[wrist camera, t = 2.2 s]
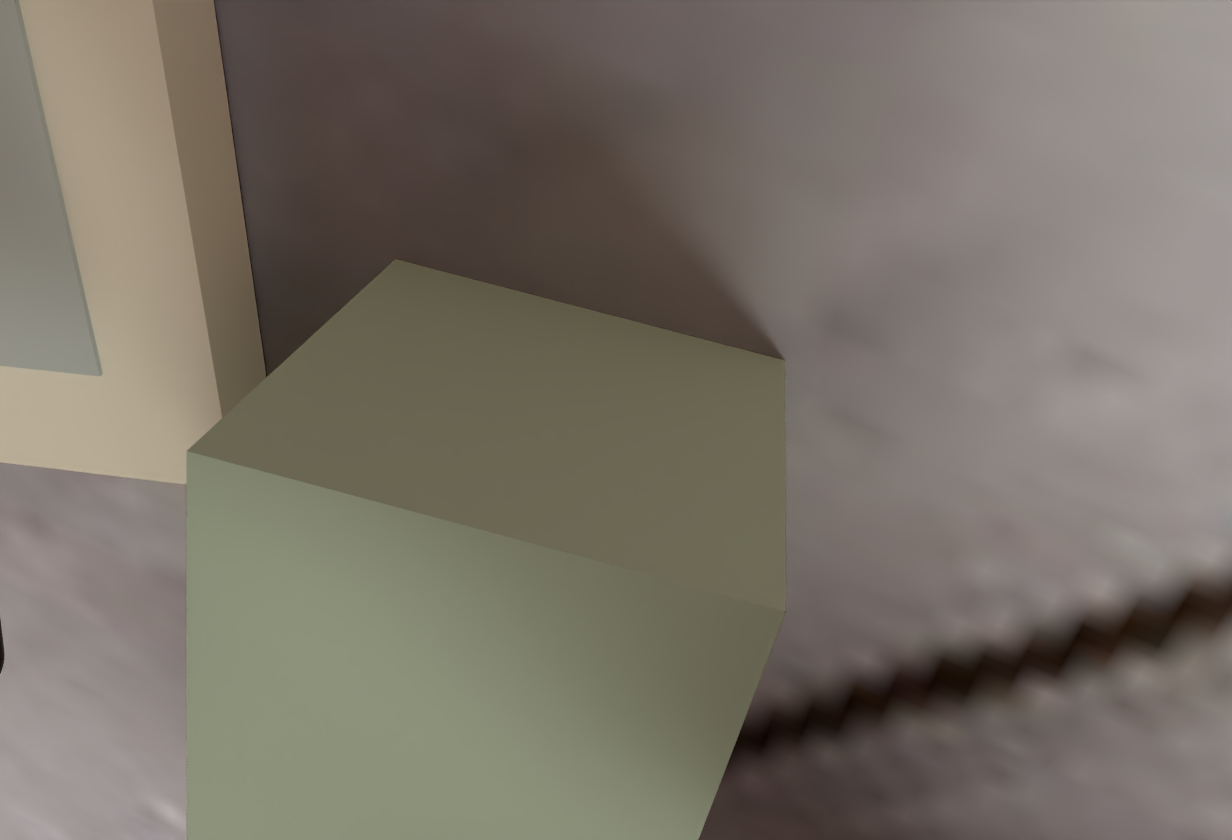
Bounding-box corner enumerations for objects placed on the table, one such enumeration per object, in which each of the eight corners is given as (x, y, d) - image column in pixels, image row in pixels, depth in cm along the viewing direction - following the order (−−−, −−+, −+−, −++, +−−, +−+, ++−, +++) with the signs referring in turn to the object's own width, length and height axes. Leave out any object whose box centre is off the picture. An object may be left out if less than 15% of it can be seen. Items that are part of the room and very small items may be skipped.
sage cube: (686, 654, 15) (645, 977, 10) (363, 568, 15) (187, 848, 10) (784, 357, 12) (785, 611, 8) (397, 256, 12) (186, 450, 8)
